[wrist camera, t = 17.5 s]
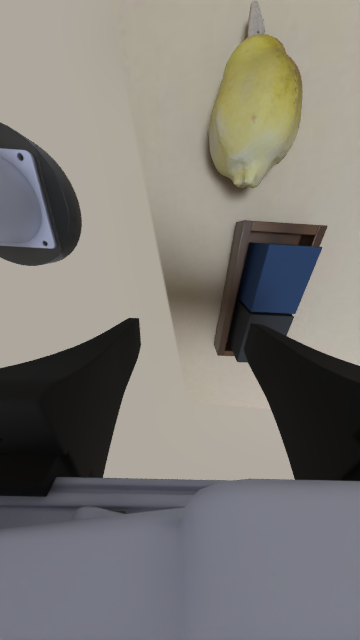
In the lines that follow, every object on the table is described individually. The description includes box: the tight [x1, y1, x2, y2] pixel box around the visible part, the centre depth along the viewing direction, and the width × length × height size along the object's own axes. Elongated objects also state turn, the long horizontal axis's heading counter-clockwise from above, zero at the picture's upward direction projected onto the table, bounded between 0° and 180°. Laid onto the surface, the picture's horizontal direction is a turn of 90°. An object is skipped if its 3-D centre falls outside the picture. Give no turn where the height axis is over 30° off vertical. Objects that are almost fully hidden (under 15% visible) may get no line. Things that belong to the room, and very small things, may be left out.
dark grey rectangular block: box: [228, 299, 294, 362], centre depth 19 cm, size 4×6×4 cm
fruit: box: [209, 1, 302, 188], centre depth 11 cm, size 6×6×10 cm
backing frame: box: [214, 220, 327, 356], centre depth 19 cm, size 8×15×2 cm, turn 177°
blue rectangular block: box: [237, 242, 322, 314], centre depth 17 cm, size 4×6×4 cm
